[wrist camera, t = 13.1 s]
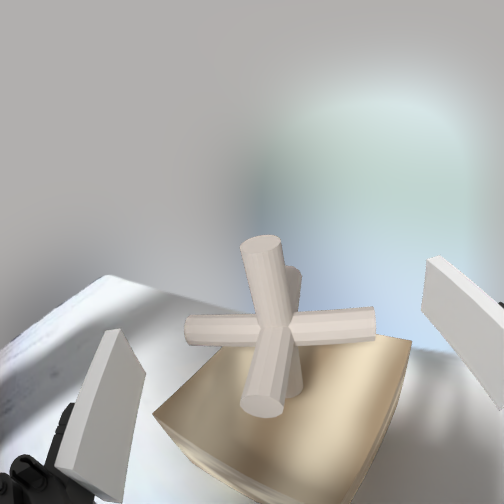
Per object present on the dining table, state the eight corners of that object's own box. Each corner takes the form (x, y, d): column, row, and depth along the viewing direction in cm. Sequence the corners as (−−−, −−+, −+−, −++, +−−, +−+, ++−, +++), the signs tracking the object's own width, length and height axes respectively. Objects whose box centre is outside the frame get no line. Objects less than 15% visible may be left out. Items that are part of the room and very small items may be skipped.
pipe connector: (362, 330, 21) (359, 197, 16) (371, 453, 12) (401, 305, 8) (232, 335, 23) (197, 216, 19) (192, 445, 15) (107, 314, 10)
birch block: (192, 462, 20) (151, 413, 17) (275, 368, 29) (261, 307, 26) (330, 533, 13) (333, 514, 9) (397, 403, 22) (412, 340, 18)
